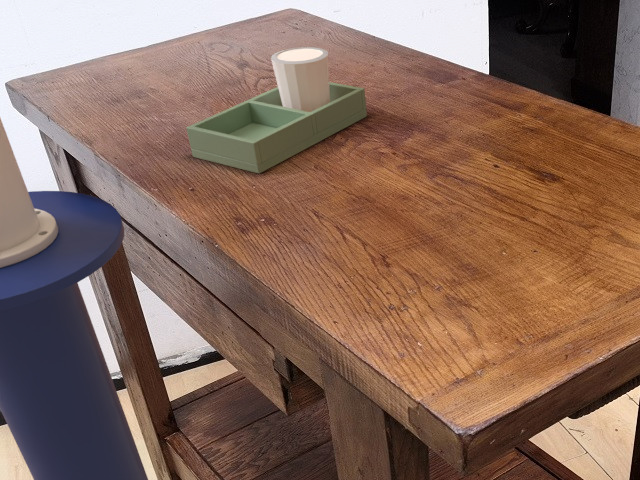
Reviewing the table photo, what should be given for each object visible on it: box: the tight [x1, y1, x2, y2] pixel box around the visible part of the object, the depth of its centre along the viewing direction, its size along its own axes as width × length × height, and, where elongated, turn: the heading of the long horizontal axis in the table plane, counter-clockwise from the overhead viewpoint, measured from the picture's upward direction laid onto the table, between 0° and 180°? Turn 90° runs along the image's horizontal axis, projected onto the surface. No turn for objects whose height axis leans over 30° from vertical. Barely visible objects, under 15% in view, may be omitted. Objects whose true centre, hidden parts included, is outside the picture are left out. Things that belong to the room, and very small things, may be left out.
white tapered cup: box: [270, 46, 330, 112], centre depth 101 cm, size 7×7×7 cm
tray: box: [185, 81, 368, 174], centre depth 100 cm, size 20×10×4 cm, turn 147°
